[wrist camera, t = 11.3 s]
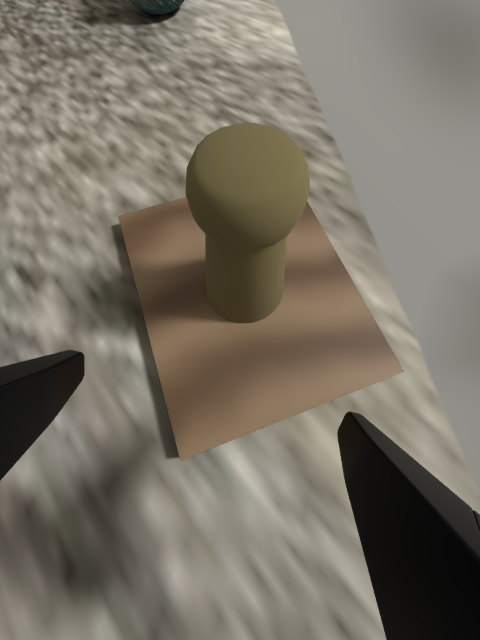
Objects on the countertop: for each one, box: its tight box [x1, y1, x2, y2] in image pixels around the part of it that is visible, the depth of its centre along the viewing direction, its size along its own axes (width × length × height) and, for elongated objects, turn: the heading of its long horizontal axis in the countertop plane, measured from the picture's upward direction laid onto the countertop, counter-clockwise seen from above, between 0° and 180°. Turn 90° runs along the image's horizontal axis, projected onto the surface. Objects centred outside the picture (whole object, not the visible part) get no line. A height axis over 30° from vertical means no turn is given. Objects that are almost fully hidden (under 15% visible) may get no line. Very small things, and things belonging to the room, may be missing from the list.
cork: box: [186, 123, 310, 323], centre depth 14 cm, size 6×6×11 cm
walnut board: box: [118, 197, 404, 461], centre depth 20 cm, size 20×16×1 cm
